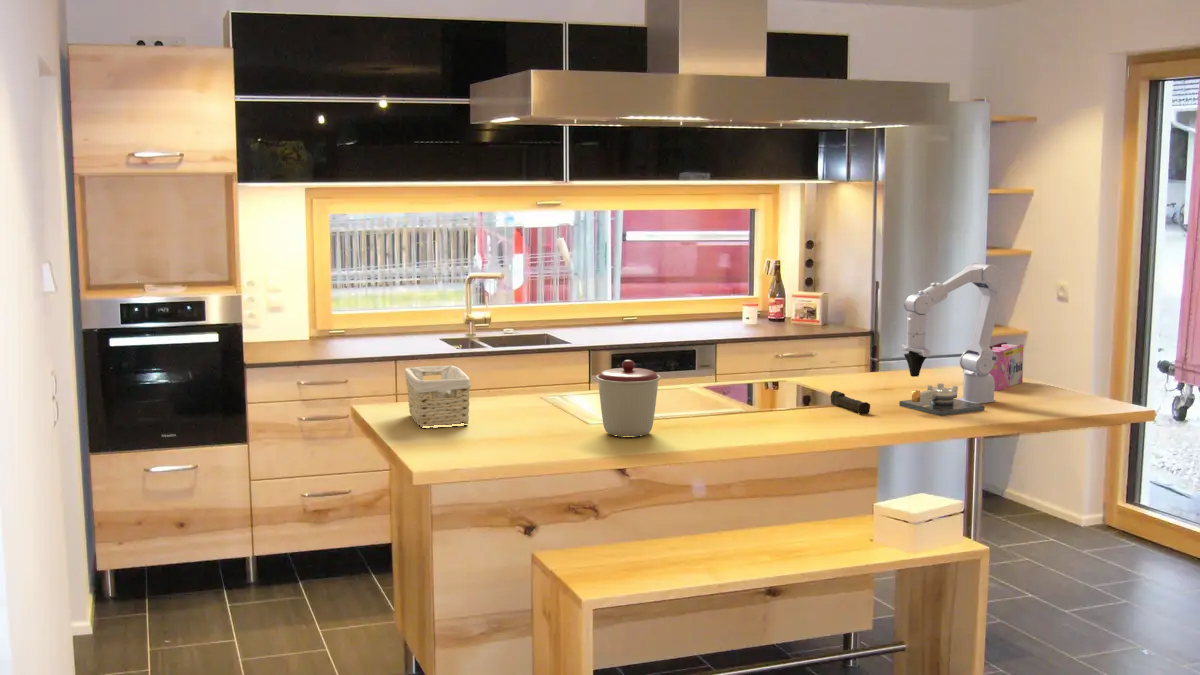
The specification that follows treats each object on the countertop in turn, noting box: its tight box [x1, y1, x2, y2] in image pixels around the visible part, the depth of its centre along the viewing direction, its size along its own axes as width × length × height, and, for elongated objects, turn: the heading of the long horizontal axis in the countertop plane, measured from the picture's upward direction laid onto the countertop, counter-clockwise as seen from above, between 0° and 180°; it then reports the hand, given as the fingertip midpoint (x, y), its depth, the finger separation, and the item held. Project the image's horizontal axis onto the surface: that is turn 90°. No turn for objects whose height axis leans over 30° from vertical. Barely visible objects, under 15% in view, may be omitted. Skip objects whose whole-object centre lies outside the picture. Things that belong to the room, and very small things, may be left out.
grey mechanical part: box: [911, 382, 959, 402], centre depth 361 cm, size 19×9×4 cm, turn 128°
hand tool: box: [830, 390, 871, 415], centre depth 364 cm, size 19×4×5 cm, turn 19°
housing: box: [898, 398, 986, 417], centre depth 364 cm, size 18×18×4 cm
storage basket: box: [404, 364, 472, 427], centre depth 345 cm, size 24×16×15 cm
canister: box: [595, 359, 662, 437], centre depth 327 cm, size 18×18×21 cm
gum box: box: [978, 342, 1024, 392], centre depth 403 cm, size 24×8×14 cm, turn 140°
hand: (914, 376), depth 367 cm, fingers closed
